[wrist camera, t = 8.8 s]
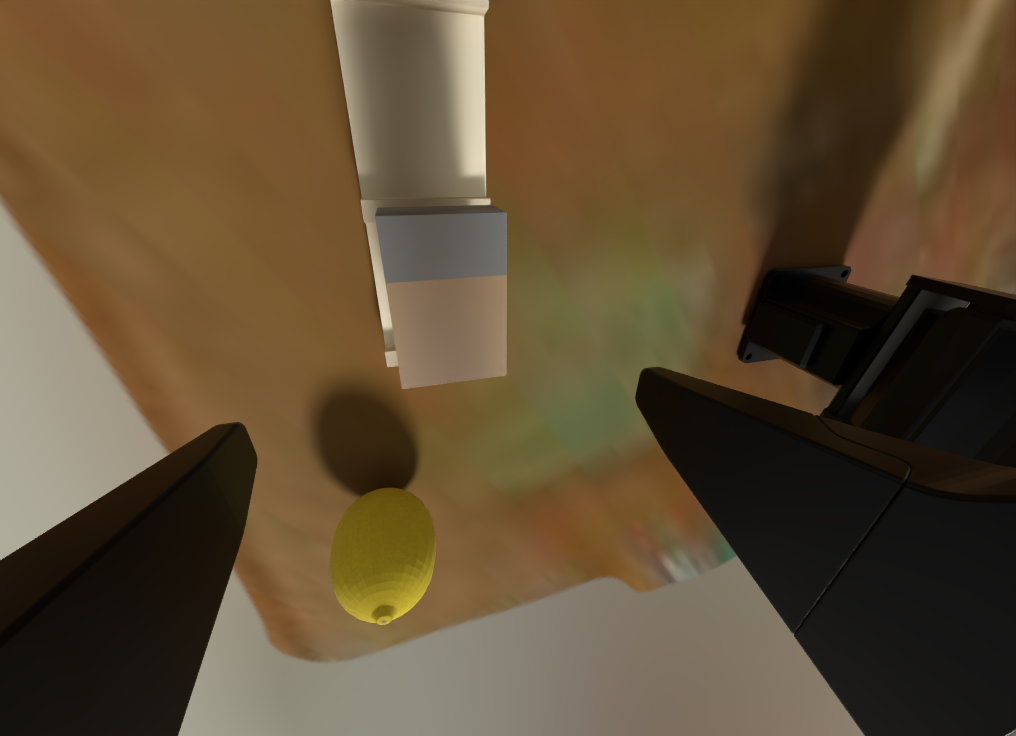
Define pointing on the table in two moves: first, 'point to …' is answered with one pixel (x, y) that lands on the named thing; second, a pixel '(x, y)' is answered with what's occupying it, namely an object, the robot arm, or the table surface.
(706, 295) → the table surface
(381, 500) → the lemon
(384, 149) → the rail
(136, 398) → the table surface
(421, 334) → the gray and beige block
